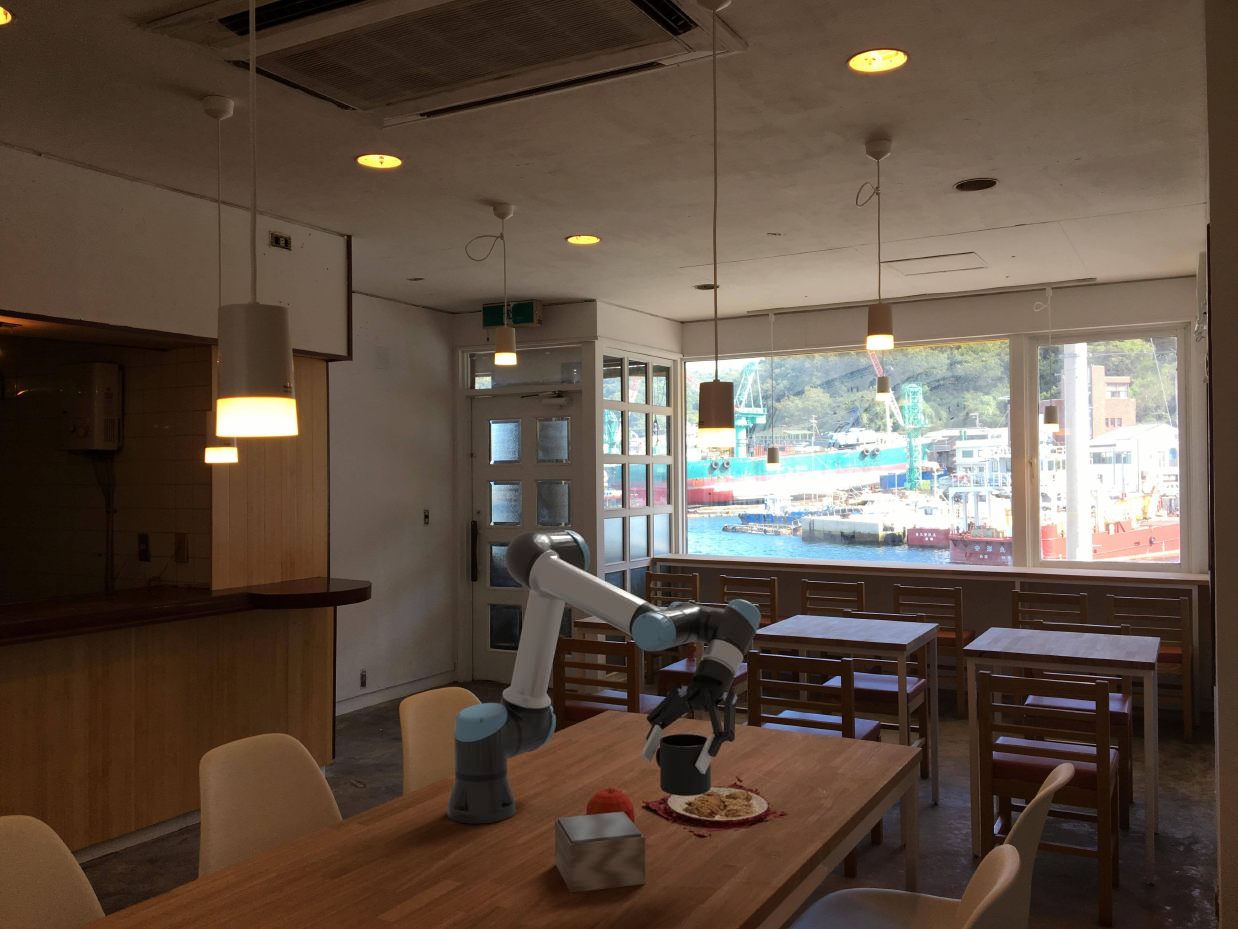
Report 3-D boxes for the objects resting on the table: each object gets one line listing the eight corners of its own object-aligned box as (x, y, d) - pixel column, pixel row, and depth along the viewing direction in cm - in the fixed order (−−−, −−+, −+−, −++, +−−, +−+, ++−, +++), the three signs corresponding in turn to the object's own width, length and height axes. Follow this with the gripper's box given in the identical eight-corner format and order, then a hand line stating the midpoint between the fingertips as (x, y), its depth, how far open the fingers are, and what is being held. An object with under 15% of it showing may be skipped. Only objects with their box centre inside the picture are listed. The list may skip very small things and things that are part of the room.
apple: (579, 839, 205) (578, 783, 205) (624, 832, 209) (623, 777, 209) (595, 855, 196) (594, 796, 196) (642, 848, 199) (641, 790, 199)
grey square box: (570, 892, 177) (570, 842, 178) (555, 864, 191) (554, 817, 191) (645, 883, 181) (644, 834, 181) (625, 857, 195) (624, 810, 195)
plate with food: (641, 809, 226) (640, 793, 226) (736, 788, 239) (735, 773, 239) (700, 844, 205) (700, 826, 205) (801, 818, 217) (801, 802, 217)
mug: (672, 775, 193) (672, 729, 193) (721, 788, 185) (720, 739, 185) (639, 786, 186) (639, 738, 187) (688, 800, 178) (688, 749, 178)
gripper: (777, 687, 190) (734, 787, 178) (676, 673, 206) (630, 763, 194) (762, 664, 186) (718, 763, 174) (660, 651, 202) (613, 742, 190)
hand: (672, 764), depth 184 cm, fingers closed on mug, 12 cm apart
